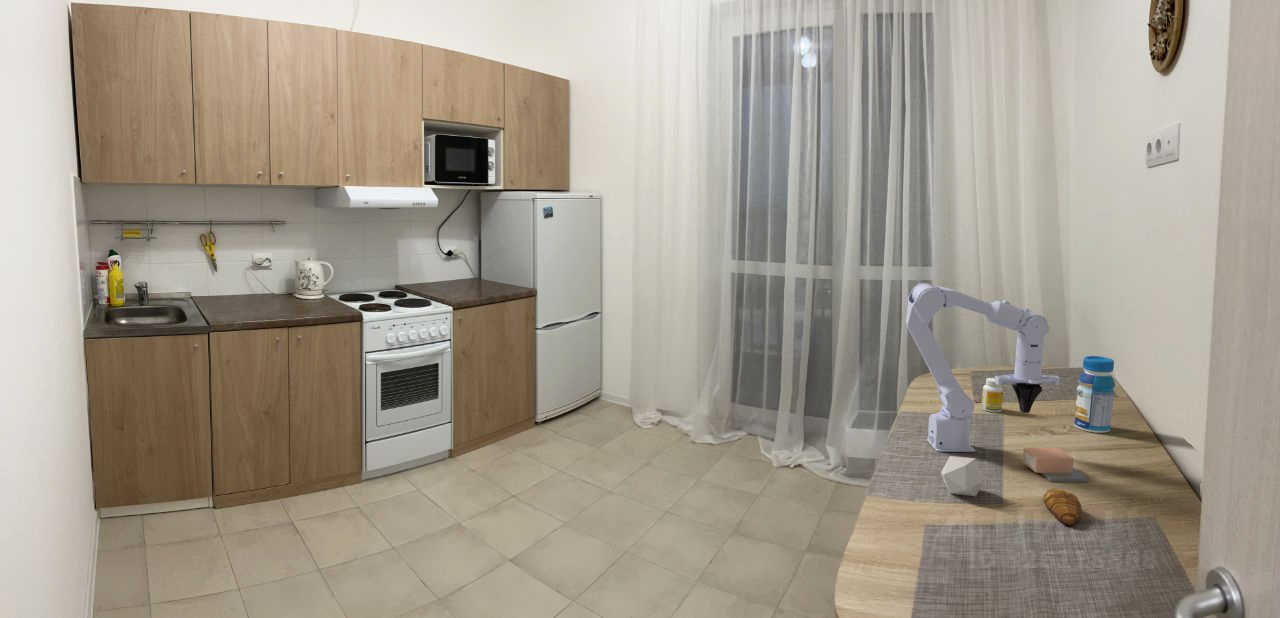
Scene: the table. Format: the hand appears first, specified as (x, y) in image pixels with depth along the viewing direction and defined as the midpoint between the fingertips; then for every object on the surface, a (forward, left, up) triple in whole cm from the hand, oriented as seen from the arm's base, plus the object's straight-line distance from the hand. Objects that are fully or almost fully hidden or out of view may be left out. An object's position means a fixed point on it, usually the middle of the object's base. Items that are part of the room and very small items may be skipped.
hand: (1024, 411), depth 156 cm
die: (-24, -24, -11) cm, 36 cm away
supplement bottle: (+6, +31, -11) cm, 33 cm away
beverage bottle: (+26, +16, -11) cm, 32 cm away
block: (-4, -12, -8) cm, 15 cm away
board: (+2, -12, -10) cm, 16 cm away
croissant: (-7, -32, -11) cm, 35 cm away
